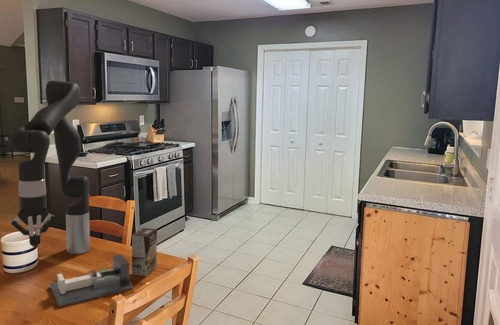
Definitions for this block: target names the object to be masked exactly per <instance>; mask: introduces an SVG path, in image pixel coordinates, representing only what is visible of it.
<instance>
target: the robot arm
mask: <svg viewBox="0 0 500 325" xmlns="http://www.w3.org/2000/svg"><path fill="white" fill-rule="evenodd" d="M81 95H82V94H81V88H80V86H79V85H78V84H77V83H75V82H73V81H64V80H63V81H62V80H49V81H48V82H47V83H46V84H45V98H46V102H47V105H46V106H44V107H42V108H41V109H39V110H38V111H37V112H36V113H35V114H34V116H33V117H32V118H31V119H30V121H29V120H28V121H27V122H26V123H23V124H22V125H20V126H19V127H17V128H16V129H14V130H13V132H12V134H11V135H10V139H9V145H10V147H11V148H12V150H14V151H15V152H17V153H26V154H33V157H32V158H30V159H25V160H22V161H20V162H19V163H18V202H19V203H18V207H19V208H18V209H19V211H18V213H17V216H16V217H14V219H11V220H10V223H11V225H12V227H14V228H15V229H16V230H17V231H18V232H20V233H21V234H22V235H23V236H29V237H28V239H29V242H28V243H29V245H30V246H31V247H32V248H35V247H39V245H41V234H43V233H46V232H47V231H48V230H49V229H50V227H51V226H52V225H53V223H54V222H55V221H56V219H57V217H56V215H55V214H53V213H50V212H49V210H48V206H47V184H46V179H45V178H46V177H45V166H46V161H47V160H46V159H47V155H48V152H49V149H50V144H51V140H50V137H49V136H50V135H51V134H52V133H53V136H54V137H53V138H54V144H55V145H54V146H55V151H56V156H57V161H58V168H59V169H58V170H59V182H60V190H61V194H62V196H63V197H64V198H69V199H70V198H80V200H78V201H77V202H73V203H71V204H69V205H67V206H66V207H65V226H66V228H65V231H66V232H65V233H66V252H67V253H68V254H70V255H79V254H84V253H88V252H89V251H90V249H91V248H90V247H91V245H90V242H91V241H90V240H91V239H90V238H91V236H90V235H91V234H90V179H89V177H88V176H86V175H70V171H71V168H72V166H73V165H74V163H75V162H76V160H77V159H78V158H79V156H80V154H81V152H82V144H81V136H80V134H79V132H78V130H77V129H76V127H74V125H73V124H72V123H71V121H70V120H69V119H68V118H67V115H68V114H69V113H70V112H71V111H72V110H74V109H75V108H76V107H77V106H78V105H79V103H80V101H81ZM20 220H21V221H22V223H24V224H25V225H26V226H27V229H26V228H24V227H23V226H22V224H21V221H20ZM45 220H46V221H45ZM44 221H45V222H44ZM43 223H44V224H43Z"/></svg>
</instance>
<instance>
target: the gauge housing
mask: <svg viewBox="0 0 500 325" xmlns="http://www.w3.org/2000/svg"><path fill="white" fill-rule="evenodd" d="M112 258H113V259H112V260H113V261H112V263H113V264H112V267H113V268H109V269H108V268H106V269H101V270H98V271H95V272H96V273H100V275H101V278H98V279H94V280H93V285H91V286H87V287H83V288H78V289H74V290H70V291H66V292H65V294H60V292H59V289H58V284H57V281H54V282H50V283H49V288H50V291H51V293H52V295H53V297H54V300H55V301H56V304H57V307H58V308H62V307H67V306H71V305H75V304H77V303H82V302H86V301H89V300H93V299H98V298H101V297H107V296H110V295H115V294H118V293H122V292H126V291H128V290H129V291H130V290H133V289H134V288H133V283H132V282H131V281H130V262H129V261H128V260H127V259H126V257H125V256H124V255H122V253H121V254H115V255H113V257H112ZM90 274H92V272H91V273H90V272H89V273H88V275H90Z"/></svg>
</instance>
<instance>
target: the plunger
mask: <svg viewBox="0 0 500 325" xmlns="http://www.w3.org/2000/svg"><path fill="white" fill-rule="evenodd" d="M96 272H97V271H96V270H95V269H94V270H91V273H92V274H90V273H89V274H90V275H89V274H85V275H81V276H77V277H72V278H67V279H65V277H64V275H63V273H57V274H56V278H57V281H56V282H57V284H58V289H59V292H60V294H65V292H66V291H70V290H74V289H78V288H83V287H87V286H91V285H93V280H94V279H98V278H101V275H100V273H96Z"/></svg>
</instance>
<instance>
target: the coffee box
mask: <svg viewBox="0 0 500 325" xmlns="http://www.w3.org/2000/svg"><path fill="white" fill-rule="evenodd" d="M157 241H158V229H156V228H148V227H147V228H145V227H143V228H141V229H138V230H137V231H136V232H134V233H133V234H131V275H134V276H141V277H147V276H149V274H150V273H152V271H154V270H155V269H156V268H157V259H158V258H157V254H158V251H157V249H158V244H157V243H158V242H157Z"/></svg>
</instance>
